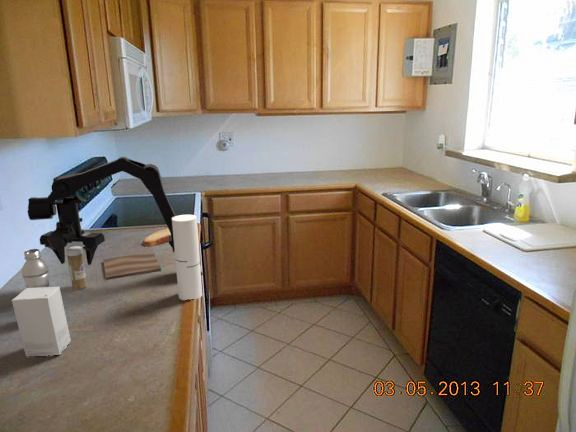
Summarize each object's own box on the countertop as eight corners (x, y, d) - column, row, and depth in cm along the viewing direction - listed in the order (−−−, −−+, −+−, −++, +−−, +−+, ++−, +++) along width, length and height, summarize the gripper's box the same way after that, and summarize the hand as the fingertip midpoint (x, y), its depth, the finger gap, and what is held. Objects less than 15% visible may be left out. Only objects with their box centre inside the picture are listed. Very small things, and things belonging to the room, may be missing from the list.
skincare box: (71, 342, 107) (62, 285, 102) (59, 357, 100) (48, 298, 96) (38, 343, 106) (26, 286, 102) (23, 358, 100) (10, 299, 96)
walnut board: (161, 270, 150) (160, 267, 150) (106, 280, 143) (105, 277, 142) (153, 254, 166) (153, 251, 165) (103, 262, 158) (103, 259, 158)
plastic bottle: (29, 326, 114) (15, 257, 108) (32, 315, 120) (19, 249, 114) (56, 321, 116) (44, 253, 111) (58, 310, 122) (46, 245, 117)
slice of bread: (141, 248, 173) (140, 239, 172) (146, 234, 190) (146, 226, 189) (186, 245, 177) (185, 236, 176) (187, 231, 194) (187, 224, 193)
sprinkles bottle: (84, 289, 135) (78, 250, 132) (69, 290, 135) (63, 250, 132) (89, 283, 140) (84, 245, 136) (75, 284, 140) (69, 245, 136)
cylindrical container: (182, 290, 135) (175, 214, 128) (204, 290, 134) (199, 214, 127) (175, 300, 128) (168, 221, 121) (199, 300, 127) (193, 221, 121)
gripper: (22, 223, 125) (31, 272, 129) (81, 225, 122) (88, 275, 126) (48, 213, 135) (55, 259, 139) (102, 215, 133) (108, 261, 137)
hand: (76, 264), depth 135 cm, fingers open, 9 cm apart
